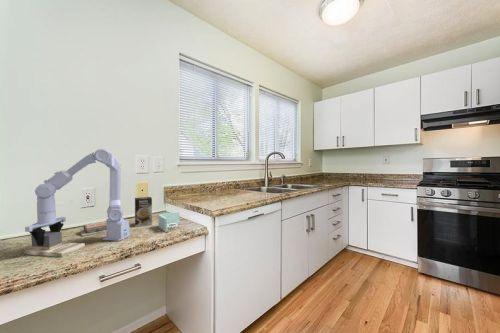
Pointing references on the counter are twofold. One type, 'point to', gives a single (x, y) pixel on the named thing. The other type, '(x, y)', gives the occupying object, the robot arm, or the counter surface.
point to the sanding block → (49, 240)
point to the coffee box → (143, 211)
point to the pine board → (56, 250)
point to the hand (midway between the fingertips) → (47, 242)
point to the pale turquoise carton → (168, 221)
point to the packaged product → (94, 228)
